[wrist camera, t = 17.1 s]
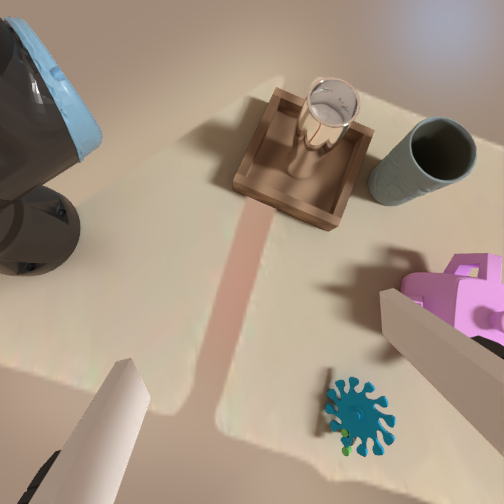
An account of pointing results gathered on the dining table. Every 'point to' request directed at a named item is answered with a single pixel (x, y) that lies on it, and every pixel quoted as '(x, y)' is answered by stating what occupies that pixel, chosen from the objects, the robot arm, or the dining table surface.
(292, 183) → the tray
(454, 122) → the grey green cup
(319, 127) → the beer glass
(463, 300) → the teakettle
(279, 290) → the dining table surface
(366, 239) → the dining table surface
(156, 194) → the dining table surface
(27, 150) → the robot arm
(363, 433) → the teal spiky toy
